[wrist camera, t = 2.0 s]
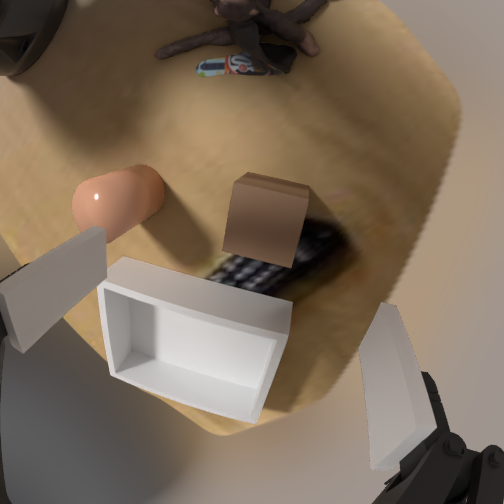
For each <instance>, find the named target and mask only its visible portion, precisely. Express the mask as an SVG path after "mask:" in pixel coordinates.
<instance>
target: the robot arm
mask: <svg viewBox="0 0 504 504" xmlns="http://www.w3.org/2000/svg"><path fill="white" fill-rule="evenodd" d="M66 4H67V0H0V76H14V75H18V74H20V73H22V72H24V71H25V70H27V69H28V68H29V67H30V66H31V65H32V64H33V63H34V62H35V61H36V60H37V59H38V58H39V56H40V55H41V54H42V52H43V51H44V50H45V48H46V47H47V45H48V44H49V42H50V40H51V39H52V37H53V35H54V33H55V31H56V29H57V27H58V25H59V23H60V21H61V18H62V16H63V13H64V10H65V7H66ZM106 278H107V259H106V229H105V228H101V227H98V226H93V227H91V228H89V229H87V230H85V231H84V232H82V233H80V234H78V235H76V236H75V237H73V238H71V239H69V240H68V241H66V242H64V243H63V244H61V245H59V246H58V247H56V248H54V249H52V250H51V251H49V252H48V253H46V254H44V255H43V256H41V257H39V258H38V259H36V260H35V261H33V262H31V263H28V264H25V265H24V266H22V267H20V268H19V269H18V270H17V271H14V272H13V273H11V275H8V276H7V277H5V278H4V279H2V280H1V281H0V398H1V381H2V369H3V359H4V351H5V341H4V337H5V336H7V335H8V337H9V339H10V342H11V344H12V346H13V347H15V348H16V349H17V350H19V351H20V352H22V353H24V352H26V351H27V350H28V348H30V346H32V345H33V344H34V343H35V342H36V341H37V340H38V339H39V338H40V337H41V336H42V335H43V334H44V333H45V332H46V331H47V330H49V329H50V328H51V327H52V326H53V325H54V324H55V323H56V322H57V321H58V320H59V319H60V318H61V317H63V316H64V315H65V314H66V313H67V312H68V311H69V310H70V309H72V308H73V307H74V306H75V305H76V304H77V303H78V302H79V301H81V300H82V299H83V298H84V297H85V296H86V295H87V294H89V293H90V292H91V291H92V290H93V289H94V288H96V287H97V286H98V285H99V284H100V283H101V282H103V281H104V280H105V279H106ZM358 350H359V356H360V363H361V370H362V378H363V385H364V393H365V402H366V411H367V422H368V433H369V445H370V461H371V470H391V469H392V468H393V467H394V466H396V465H397V464H398V463H400V471H399V472H398V473H397V474H396V475H394V476H393V477H392V478H390V479H389V480H388V481H386V482H385V483H384V484H385V485H387V484H388V483H389V484H388V485H387V486H386V487H385V489H384V490H383V491H382V492H381V494H380V495H379V496H378V497H377V498H376V499H375V501H374V502H373V503H372V504H503V500H504V451H503V450H502V449H501V448H500V447H498V446H496V445H490V446H488V447H486V448H485V449H484V450H483V451H482V452H481V453H480V452H477V451H473V450H469V449H467V448H466V444H465V442H464V441H463V439H462V438H461V437H460V436H459V435H457V434H455V433H452V432H450V429H449V425H448V422H447V418H446V415H445V412H444V408H443V405H442V403H441V399H440V396H439V394H438V390H437V387H436V384H435V382H434V380H433V379H432V378H431V376H430V375H429V374H428V372H422V371H420V368H419V366H418V363H417V359H416V357H415V354H414V351H413V348H412V345H411V343H410V340H409V337H408V334H407V332H406V329H405V327H404V324H403V321H402V319H401V316H400V314H399V311H398V309H397V306H396V305H392V304H388V303H384V302H381V304H380V306H379V308H378V310H377V312H376V314H375V317H374V319H373V321H372V323H371V325H370V327H369V329H368V331H367V333H366V335H365V337H364V338H363V340H362V342H361V344H360V346H359V348H358ZM0 401H1V400H0ZM2 464H3V463H2V452H1V434H0V504H12V503H11V501H10V500H9V498H8V496H7V492H6V487H5V481H4V472H3V465H2ZM466 499H467V501H466Z"/></svg>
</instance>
